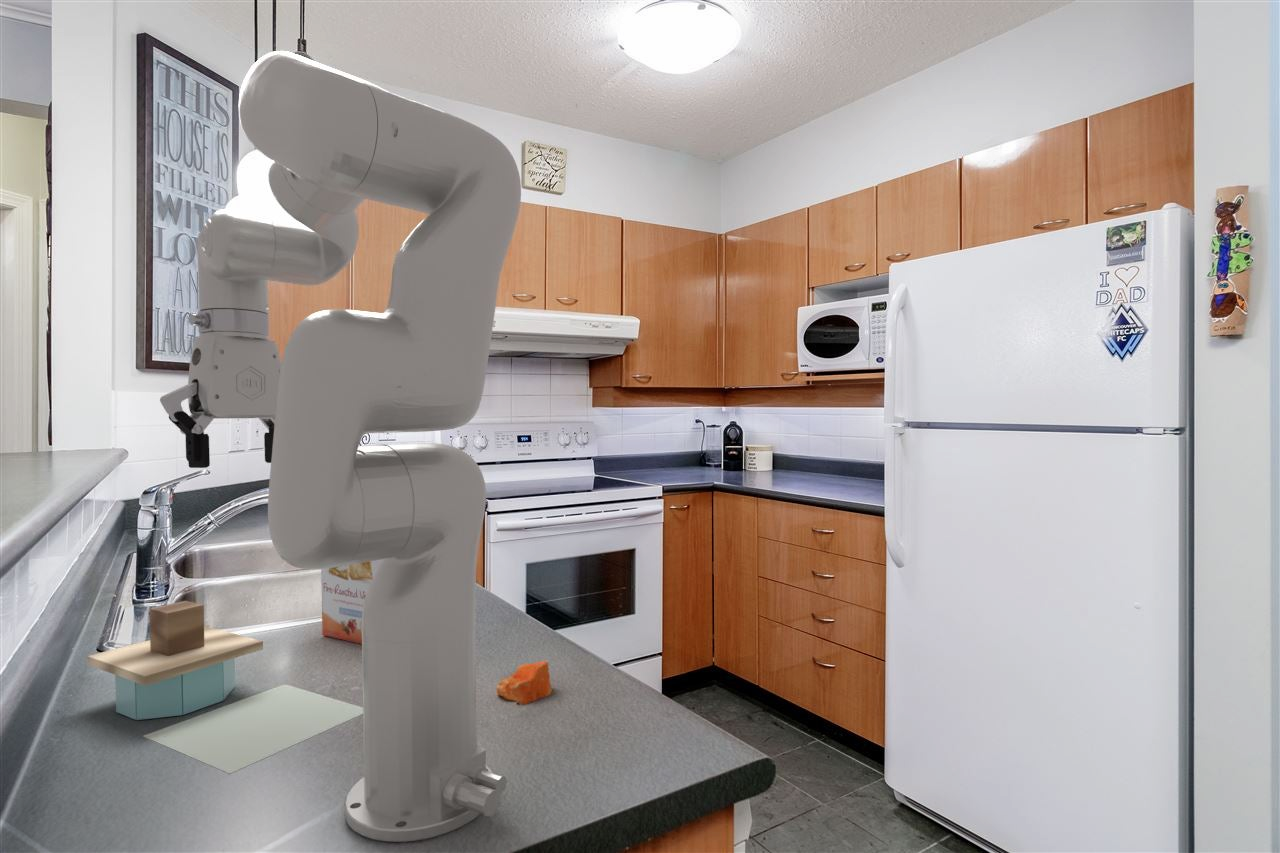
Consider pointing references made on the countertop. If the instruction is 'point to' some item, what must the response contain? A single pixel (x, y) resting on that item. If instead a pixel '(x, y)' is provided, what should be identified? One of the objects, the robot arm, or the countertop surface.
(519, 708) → the countertop surface
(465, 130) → the robot arm
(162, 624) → the lid
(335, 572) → the cracker box
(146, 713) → the bowl
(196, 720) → the mat
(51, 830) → the countertop surface
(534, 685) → the rock
